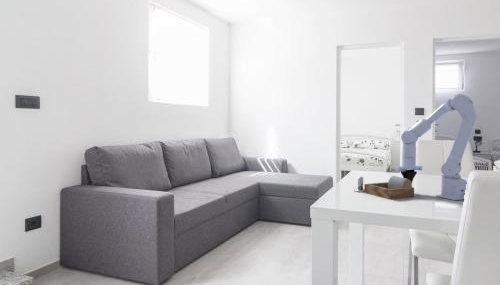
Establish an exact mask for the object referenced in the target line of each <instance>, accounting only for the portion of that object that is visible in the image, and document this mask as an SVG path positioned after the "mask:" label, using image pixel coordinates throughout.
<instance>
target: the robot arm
mask: <svg viewBox="0 0 500 285" xmlns="http://www.w3.org/2000/svg"><path fill="white" fill-rule="evenodd" d="M454 111H456V112H458V113H459V115H460V116H461V118H462V120H461V123H460V126H459V128H458V131H457V134H456V137H455V139H454V142H453V144H452V148H451V151H450V153H449V155H448V156H447V158H446V161H445V163H443V164H442V165H441V168H440V169H441V170H440V171H441V173H442V174H441V185H440V186H441V188H440V194H436V197H439V198H443V199H448V200H452V201H460V200H465V199H464V195H465V190H466V184H467V185H468V182H467V180H466V179H464V178H462V176H461V174H460V172H461V171H462V165H461V164H462V162H463V156H464V154H465V151H466V148H467V145H468V142H469V141H470V138H471V136H472V132H473V130H474V127H475V123H476V121H477V118H478V115H477V112H476V109H475V106H474V102H473V100H471V98H469V96H467V95H464V94H463V93H457V94H454V95H453V96H452V97H451V98H449V99H447V100H446V101H444V103H442V104H441V105H440V106H439V107H438V108H436V109H435V110H434V111H433V112H432V113H431V114H429V115H428V116H427V117H426V118H421V119H417V120H416V122H415V124H414V125H412V126H411V127H408V130H405V131H403V133H402V134H401V137H400V138H401V141H402V147H401V148H402V149H401V150H402V152H401V154H402V156H401V157H402V158H401V165H400V166H396V167H395V166H394V171H395V172H396V173H399V172H400V174H401V176H402V178H406V179H409V180H410V181H411V183H412V184H413V181H414V179H415V177H416V175H417V174H418V172H417V171H423V165H417V164H416V162H417V159H416V158H417V141H418V139H419V138H421V137H422V136H423V135H425V134H426V133H428V131H430V130H431V129H432V125H433V124H434V122H437V120H439V119H440V118H441V117H442V116H445V114H447V113H449V112H454Z"/></svg>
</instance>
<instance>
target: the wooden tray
mask: <svg viewBox="0 0 500 285" xmlns="http://www.w3.org/2000/svg"><path fill="white" fill-rule="evenodd" d="M363 189H364V192H363V193H365V194H368V195H371V196H375V197H379V198H382V199H387V200H398V199H399V200H400V199H406V198H407V199H408V197H409V198H414V197H415V187H413V186H412V187H409V188H398V189H388V181H385V182H374V183H373V182H372V183H364V185H363Z"/></svg>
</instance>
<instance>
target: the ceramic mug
mask: <svg viewBox="0 0 500 285" xmlns="http://www.w3.org/2000/svg"><path fill="white" fill-rule="evenodd" d="M387 182H388V189H398V188H409V187H413V182H412V183H411V181H410V180H409V179H406V178H403V177H400V176H397V175H391V176H390V177H389V179H388V181H387Z"/></svg>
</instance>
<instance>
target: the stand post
mask: <svg viewBox="0 0 500 285" xmlns="http://www.w3.org/2000/svg"><path fill="white" fill-rule="evenodd" d="M353 192H354V193H355V192H356V193H364V177H363V176H358V177H357V188H354V189H353Z"/></svg>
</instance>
